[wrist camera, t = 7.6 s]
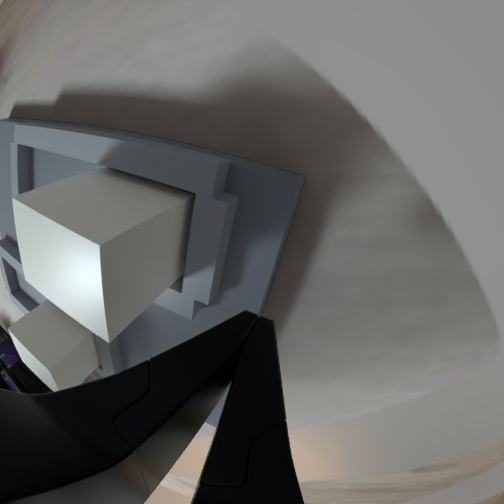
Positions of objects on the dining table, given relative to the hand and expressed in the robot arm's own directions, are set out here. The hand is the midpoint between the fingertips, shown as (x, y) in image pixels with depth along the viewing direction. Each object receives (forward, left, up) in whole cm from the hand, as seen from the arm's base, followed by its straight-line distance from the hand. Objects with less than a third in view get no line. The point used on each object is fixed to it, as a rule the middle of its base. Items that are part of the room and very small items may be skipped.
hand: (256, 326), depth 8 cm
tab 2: (0, +6, -3) cm, 7 cm away
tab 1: (-10, +12, -3) cm, 17 cm away
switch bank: (-5, +12, -5) cm, 14 cm away
